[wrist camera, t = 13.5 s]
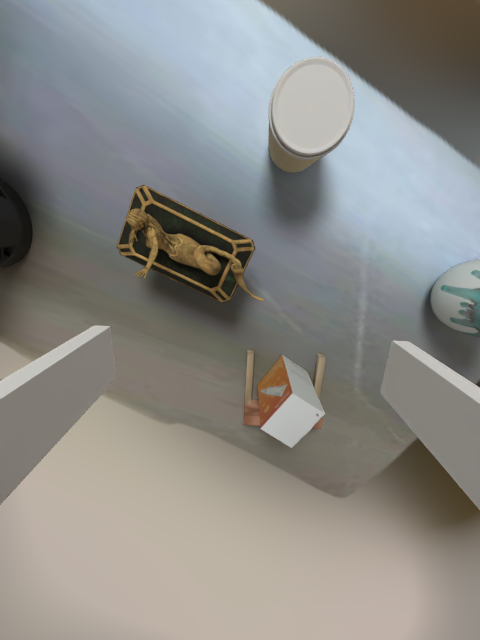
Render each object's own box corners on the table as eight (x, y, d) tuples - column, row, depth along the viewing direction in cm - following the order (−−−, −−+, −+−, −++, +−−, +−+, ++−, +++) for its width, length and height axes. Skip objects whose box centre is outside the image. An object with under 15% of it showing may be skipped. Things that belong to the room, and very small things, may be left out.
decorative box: (142, 249, 45) (67, 259, 26) (162, 194, 42) (94, 160, 24) (247, 300, 47) (247, 342, 28) (272, 250, 45) (291, 260, 26)
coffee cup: (338, 146, 40) (374, 110, 28) (289, 192, 42) (305, 176, 30) (299, 91, 38) (321, 28, 26) (250, 142, 40) (251, 104, 28)
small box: (281, 353, 50) (293, 392, 38) (307, 370, 51) (327, 414, 39) (256, 383, 52) (259, 429, 40) (281, 400, 53) (292, 449, 41)
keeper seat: (244, 408, 54) (243, 424, 49) (247, 349, 50) (247, 361, 45) (314, 411, 54) (321, 428, 49) (323, 353, 50) (331, 366, 45)
